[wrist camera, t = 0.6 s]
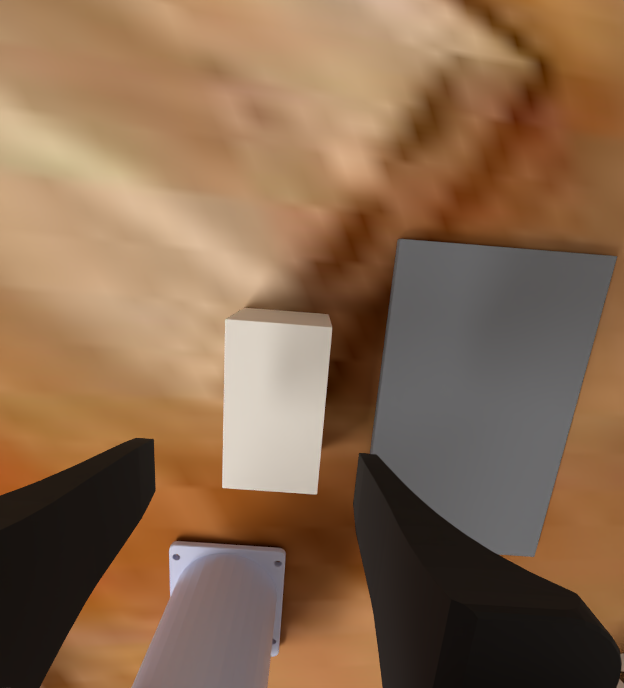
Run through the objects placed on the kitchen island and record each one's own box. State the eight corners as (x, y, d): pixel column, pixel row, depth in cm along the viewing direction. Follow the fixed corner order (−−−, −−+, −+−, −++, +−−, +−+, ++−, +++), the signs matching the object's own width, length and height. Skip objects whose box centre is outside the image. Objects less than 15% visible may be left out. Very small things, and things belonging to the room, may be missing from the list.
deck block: (316, 448, 22) (316, 494, 18) (240, 443, 22) (222, 487, 18) (328, 313, 20) (332, 327, 16) (244, 307, 20) (225, 319, 16)
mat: (528, 549, 24) (534, 556, 23) (358, 538, 23) (360, 545, 23) (608, 256, 19) (617, 256, 18) (397, 239, 19) (400, 238, 18)
